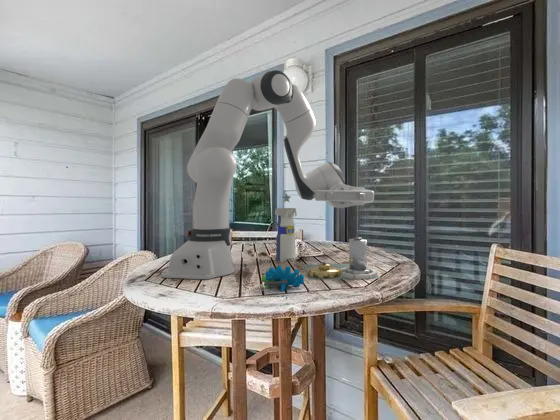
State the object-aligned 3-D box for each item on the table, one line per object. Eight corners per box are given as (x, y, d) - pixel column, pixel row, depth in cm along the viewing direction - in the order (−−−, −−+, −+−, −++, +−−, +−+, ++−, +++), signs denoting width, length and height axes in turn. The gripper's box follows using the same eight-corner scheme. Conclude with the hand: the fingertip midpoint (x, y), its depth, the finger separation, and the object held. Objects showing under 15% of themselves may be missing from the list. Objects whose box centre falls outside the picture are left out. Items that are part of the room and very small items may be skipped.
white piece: (302, 260, 123) (301, 193, 122) (282, 262, 119) (281, 193, 118) (290, 256, 130) (289, 193, 129) (271, 259, 126) (270, 193, 125)
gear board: (308, 283, 91) (308, 279, 91) (303, 268, 110) (303, 264, 110) (381, 282, 91) (381, 278, 91) (364, 267, 110) (364, 263, 110)
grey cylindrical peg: (347, 277, 92) (347, 239, 92) (343, 271, 100) (343, 236, 99) (373, 277, 92) (373, 239, 92) (367, 271, 100) (367, 236, 99)
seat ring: (343, 278, 91) (343, 275, 91) (337, 270, 101) (337, 267, 101) (380, 278, 91) (380, 274, 91) (370, 269, 101) (370, 266, 101)
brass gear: (308, 278, 91) (308, 265, 91) (306, 270, 101) (306, 259, 101) (343, 278, 91) (343, 265, 91) (337, 270, 101) (337, 258, 101)
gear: (309, 283, 85) (298, 261, 78) (307, 304, 81) (295, 283, 74) (270, 285, 89) (255, 265, 82) (266, 306, 85) (251, 286, 78)
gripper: (312, 187, 122) (316, 185, 108) (368, 187, 121) (379, 186, 108) (312, 204, 122) (315, 204, 108) (367, 205, 122) (378, 205, 108)
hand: (347, 195), depth 108 cm, fingers open, 8 cm apart
